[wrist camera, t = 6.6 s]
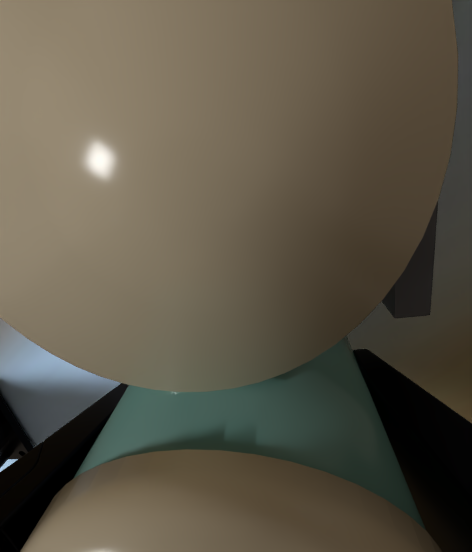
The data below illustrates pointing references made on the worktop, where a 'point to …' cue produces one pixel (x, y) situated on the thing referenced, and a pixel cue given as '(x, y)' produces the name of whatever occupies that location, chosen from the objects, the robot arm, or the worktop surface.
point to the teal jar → (241, 472)
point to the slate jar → (215, 176)
